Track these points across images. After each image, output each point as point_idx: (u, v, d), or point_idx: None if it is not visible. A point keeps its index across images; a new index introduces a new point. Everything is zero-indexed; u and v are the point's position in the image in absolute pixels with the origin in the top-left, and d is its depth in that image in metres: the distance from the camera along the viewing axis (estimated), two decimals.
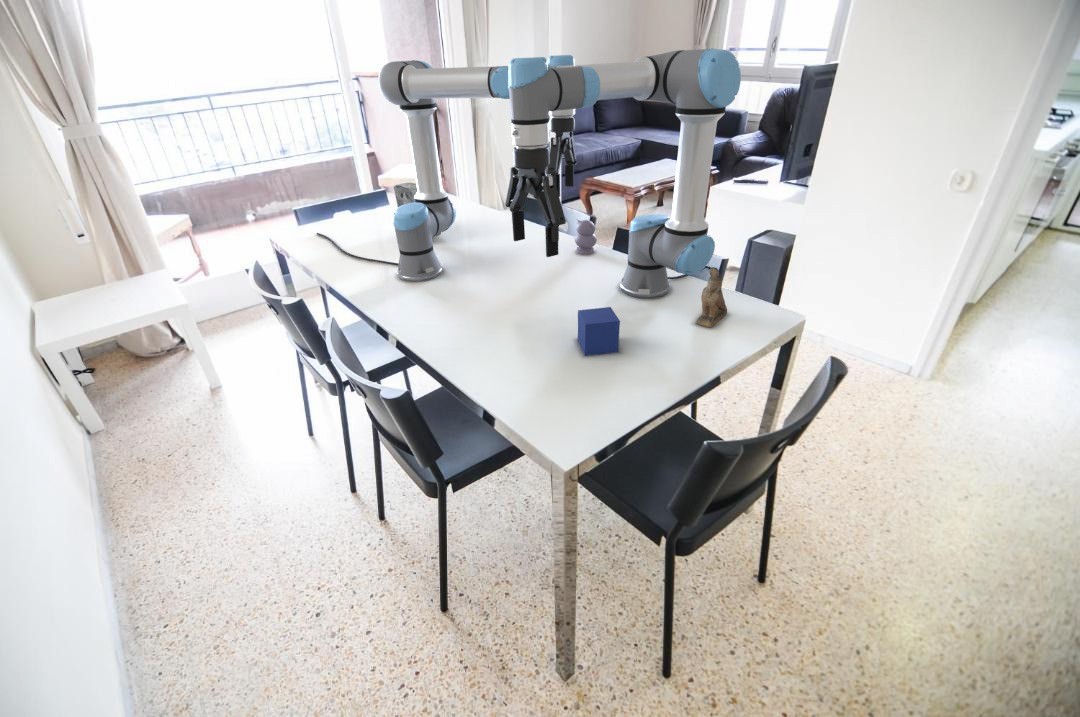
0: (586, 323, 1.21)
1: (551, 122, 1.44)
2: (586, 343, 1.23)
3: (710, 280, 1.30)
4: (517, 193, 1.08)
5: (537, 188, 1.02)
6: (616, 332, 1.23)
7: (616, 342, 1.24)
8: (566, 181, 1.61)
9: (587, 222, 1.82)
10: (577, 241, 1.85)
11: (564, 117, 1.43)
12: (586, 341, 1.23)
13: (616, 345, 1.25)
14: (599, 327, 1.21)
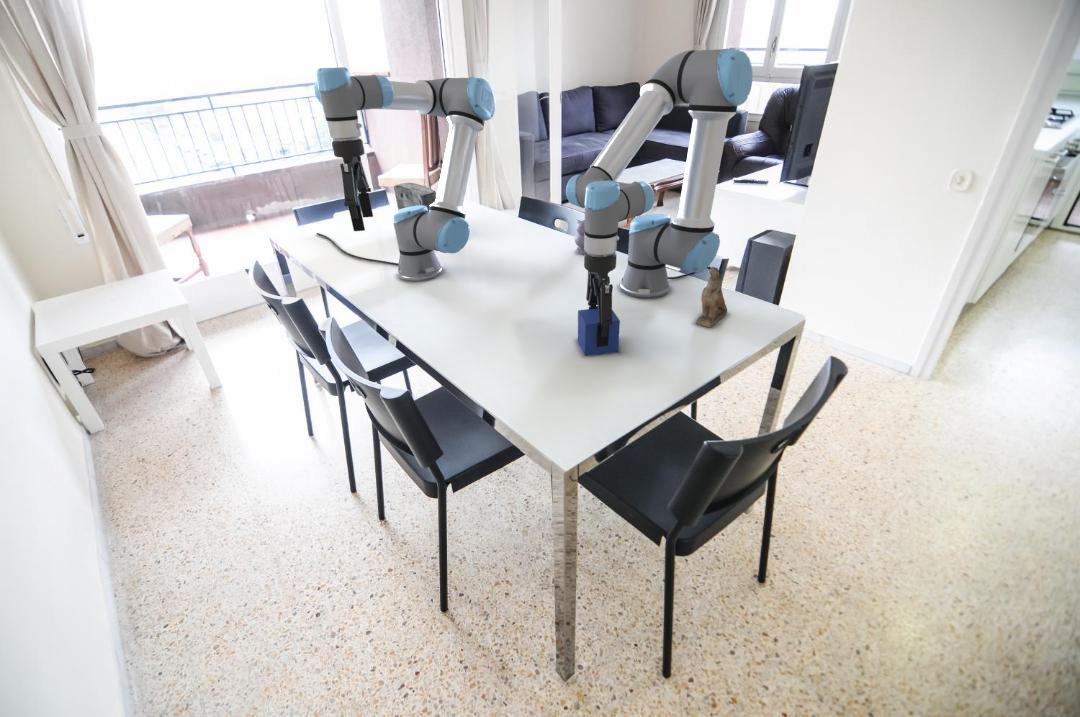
0: (586, 323, 1.21)
1: (335, 146, 1.22)
2: (586, 343, 1.23)
3: (710, 280, 1.30)
4: None
5: None
6: (616, 332, 1.23)
7: (616, 342, 1.24)
8: (363, 212, 1.40)
9: None
10: (577, 241, 1.85)
11: (350, 139, 1.22)
12: (586, 341, 1.23)
13: (616, 345, 1.25)
14: None
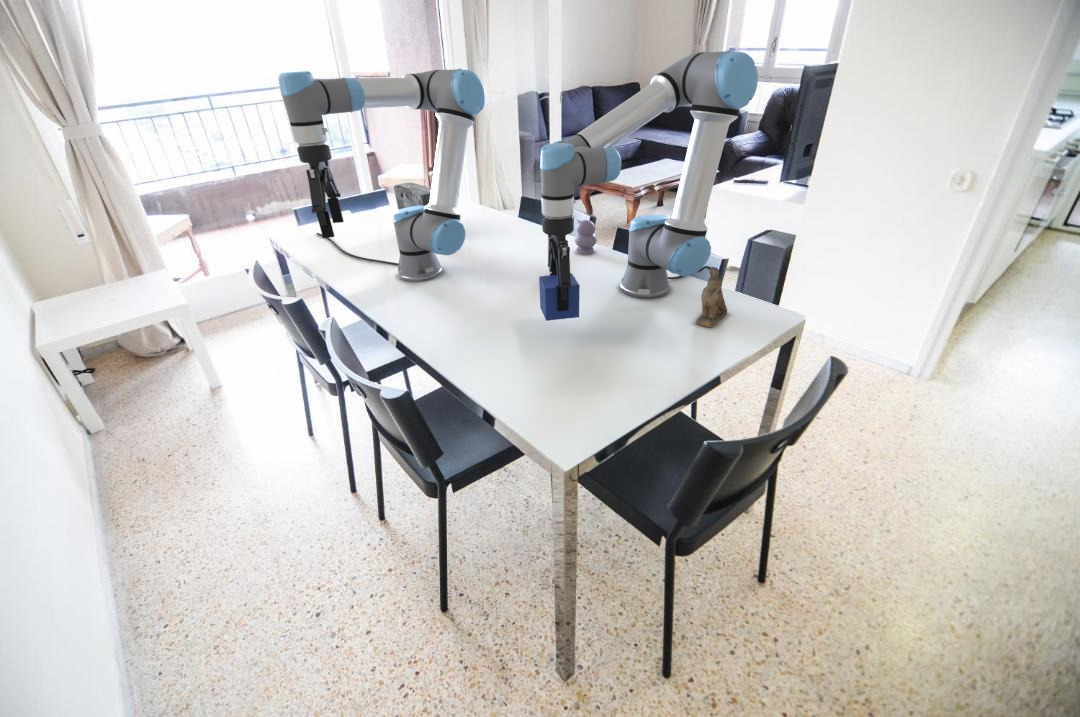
0: (546, 287, 1.22)
1: (300, 152, 1.19)
2: (547, 308, 1.24)
3: (710, 280, 1.30)
4: None
5: None
6: (576, 296, 1.24)
7: (577, 307, 1.26)
8: (333, 217, 1.37)
9: (587, 222, 1.82)
10: (577, 241, 1.85)
11: (316, 144, 1.19)
12: (547, 306, 1.24)
13: (577, 310, 1.26)
14: None
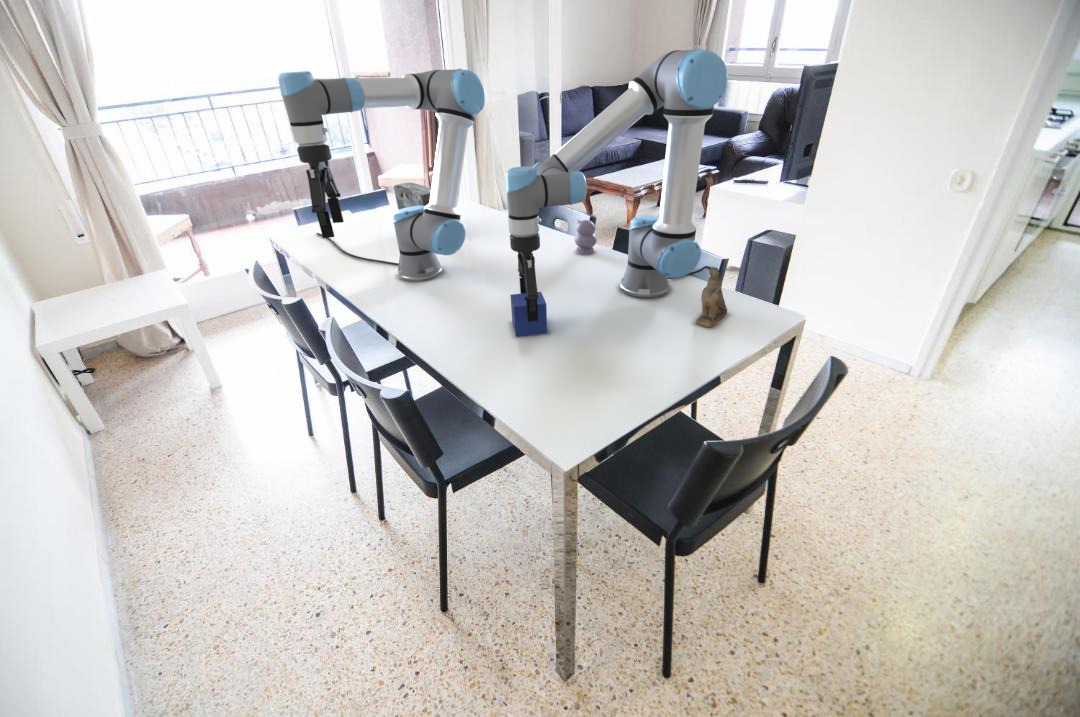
0: (515, 306, 1.30)
1: (300, 152, 1.19)
2: (516, 324, 1.33)
3: (710, 280, 1.30)
4: None
5: None
6: (544, 314, 1.32)
7: (544, 324, 1.34)
8: (333, 217, 1.37)
9: (587, 222, 1.82)
10: (577, 241, 1.85)
11: (316, 144, 1.19)
12: (516, 322, 1.32)
13: (545, 327, 1.35)
14: None
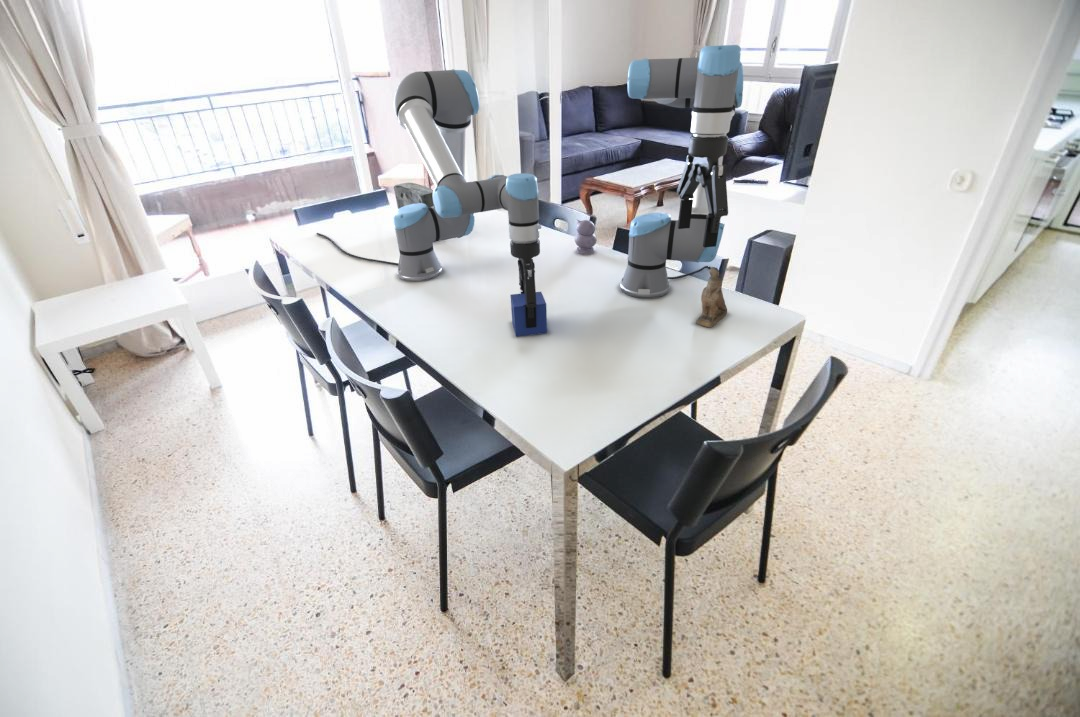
0: (514, 306, 1.30)
1: (517, 249, 1.23)
2: (516, 324, 1.33)
3: (710, 280, 1.30)
4: None
5: None
6: (544, 314, 1.32)
7: (544, 324, 1.34)
8: None
9: (587, 222, 1.82)
10: (577, 241, 1.85)
11: (532, 241, 1.23)
12: (516, 323, 1.32)
13: (545, 327, 1.35)
14: None
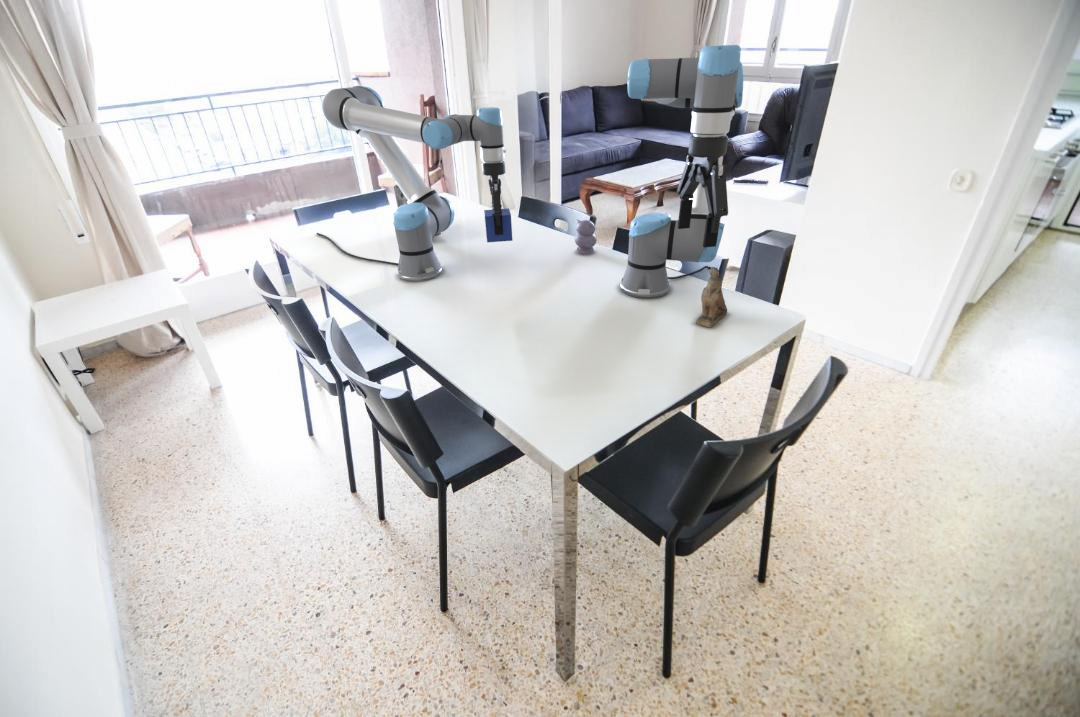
0: (486, 216, 1.65)
1: (486, 167, 1.58)
2: (487, 232, 1.68)
3: (710, 280, 1.30)
4: None
5: None
6: (509, 224, 1.67)
7: (510, 232, 1.69)
8: None
9: (587, 222, 1.82)
10: (577, 241, 1.85)
11: (498, 162, 1.58)
12: (487, 230, 1.67)
13: (510, 235, 1.69)
14: None
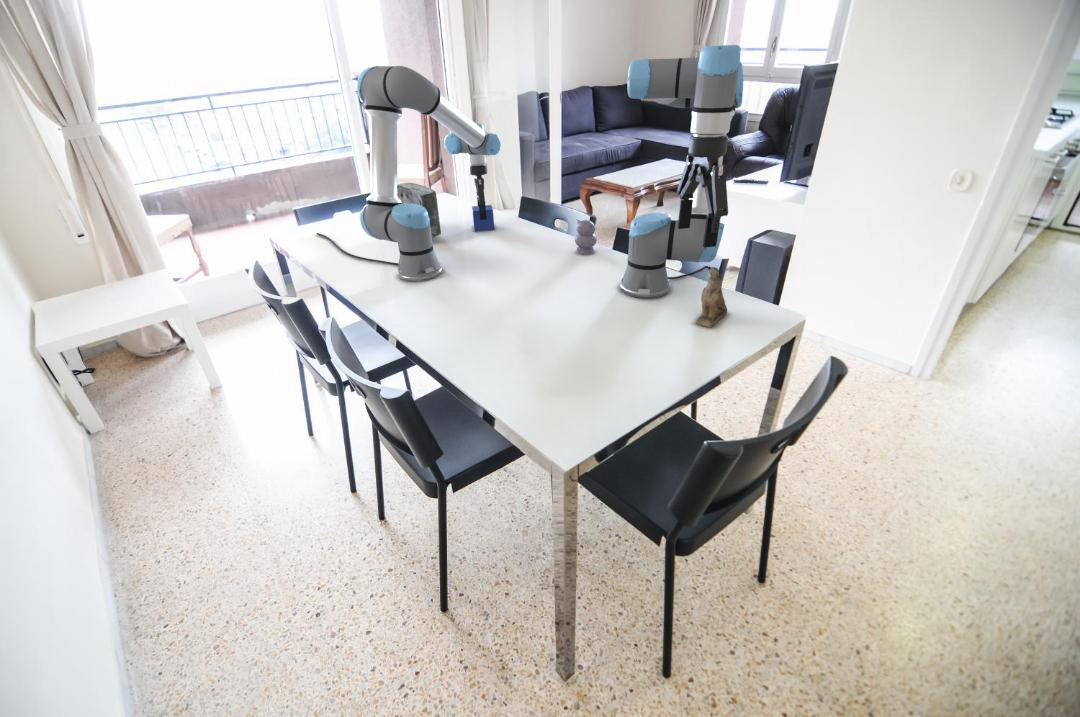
0: (473, 210, 2.12)
1: (472, 169, 2.04)
2: (474, 223, 2.15)
3: (710, 280, 1.30)
4: None
5: None
6: (491, 217, 2.14)
7: (492, 223, 2.16)
8: None
9: (587, 222, 1.82)
10: (577, 241, 1.85)
11: (482, 164, 2.04)
12: (474, 222, 2.14)
13: (493, 225, 2.16)
14: None
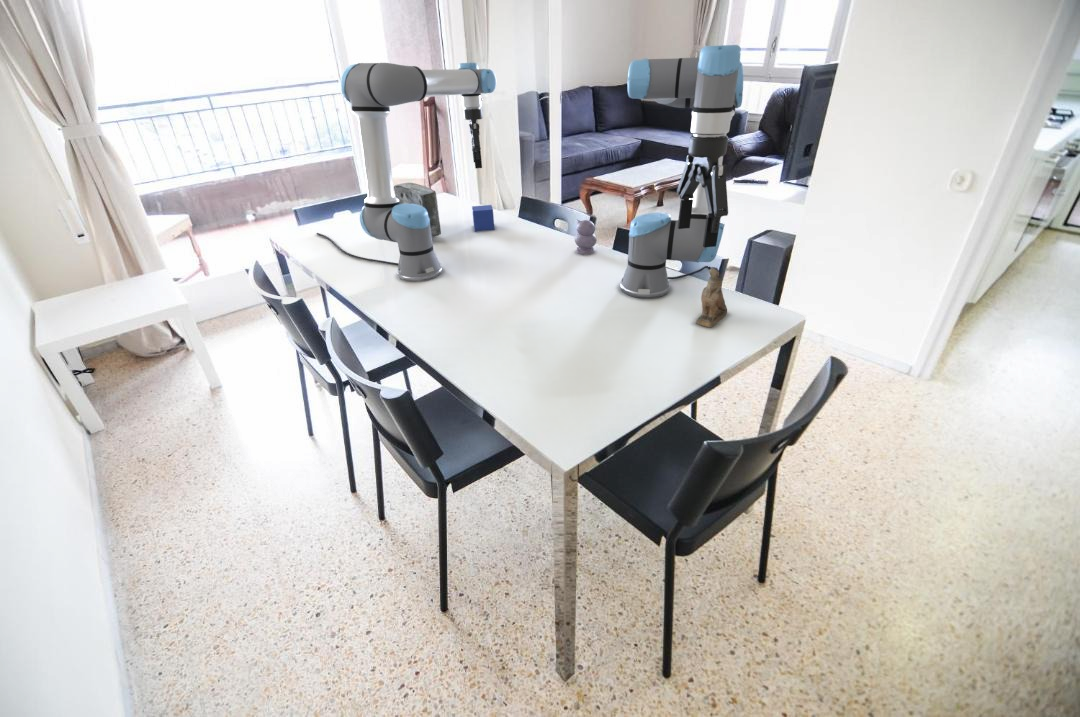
0: (473, 210, 2.12)
1: (467, 112, 1.93)
2: (474, 223, 2.15)
3: (710, 280, 1.30)
4: None
5: None
6: (491, 217, 2.14)
7: (492, 223, 2.16)
8: (474, 158, 2.11)
9: (587, 222, 1.82)
10: (577, 241, 1.85)
11: (476, 108, 1.93)
12: (474, 222, 2.14)
13: (493, 225, 2.16)
14: (481, 213, 2.13)
